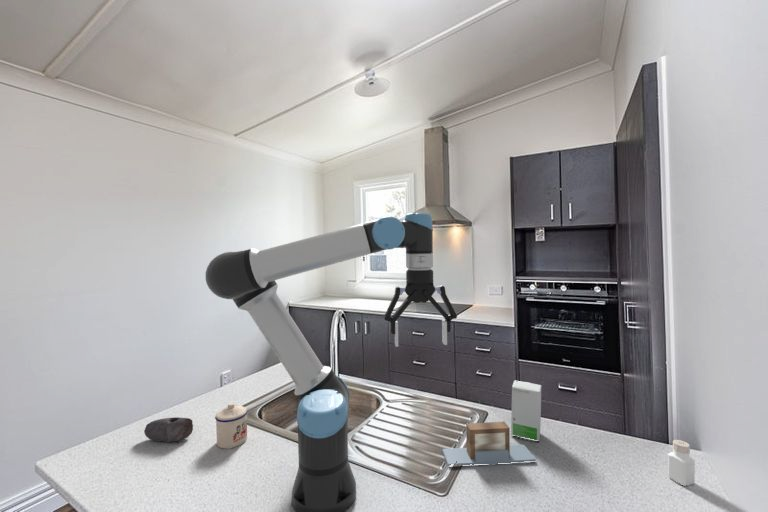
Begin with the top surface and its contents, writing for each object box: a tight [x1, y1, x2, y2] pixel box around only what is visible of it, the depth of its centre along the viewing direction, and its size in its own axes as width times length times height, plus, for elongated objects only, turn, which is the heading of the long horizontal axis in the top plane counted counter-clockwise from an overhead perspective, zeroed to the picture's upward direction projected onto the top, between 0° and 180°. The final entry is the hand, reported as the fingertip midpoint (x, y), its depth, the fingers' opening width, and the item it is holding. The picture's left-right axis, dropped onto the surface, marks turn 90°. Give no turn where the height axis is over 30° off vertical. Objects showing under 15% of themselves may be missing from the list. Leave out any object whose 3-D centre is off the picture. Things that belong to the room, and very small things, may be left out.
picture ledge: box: [442, 444, 537, 467], centre depth 98 cm, size 24×7×6 cm, turn 93°
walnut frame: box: [465, 421, 511, 459], centre depth 98 cm, size 11×4×8 cm, turn 93°
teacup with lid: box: [214, 402, 248, 449], centre depth 110 cm, size 12×9×12 cm
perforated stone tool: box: [144, 416, 194, 443], centre depth 110 cm, size 15×5×7 cm, turn 83°
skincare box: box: [510, 379, 542, 441], centre depth 109 cm, size 8×7×16 cm
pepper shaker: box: [667, 439, 696, 487], centre depth 87 cm, size 4×4×10 cm
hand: (420, 344), depth 99 cm, fingers open, 13 cm apart
